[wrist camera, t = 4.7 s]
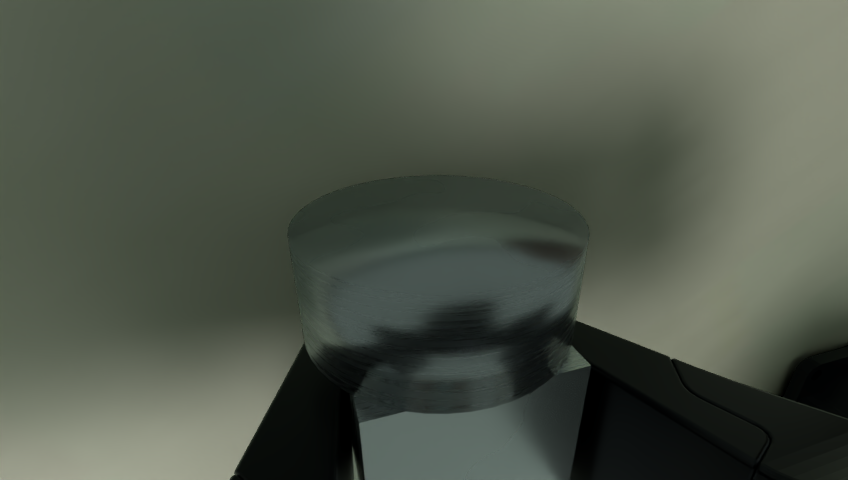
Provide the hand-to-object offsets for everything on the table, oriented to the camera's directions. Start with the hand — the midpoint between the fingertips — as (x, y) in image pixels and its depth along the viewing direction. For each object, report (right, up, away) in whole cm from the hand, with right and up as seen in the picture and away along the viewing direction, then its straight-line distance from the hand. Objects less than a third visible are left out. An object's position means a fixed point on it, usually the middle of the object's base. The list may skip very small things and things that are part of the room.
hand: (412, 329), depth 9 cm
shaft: (0, -12, +6) cm, 14 cm away
